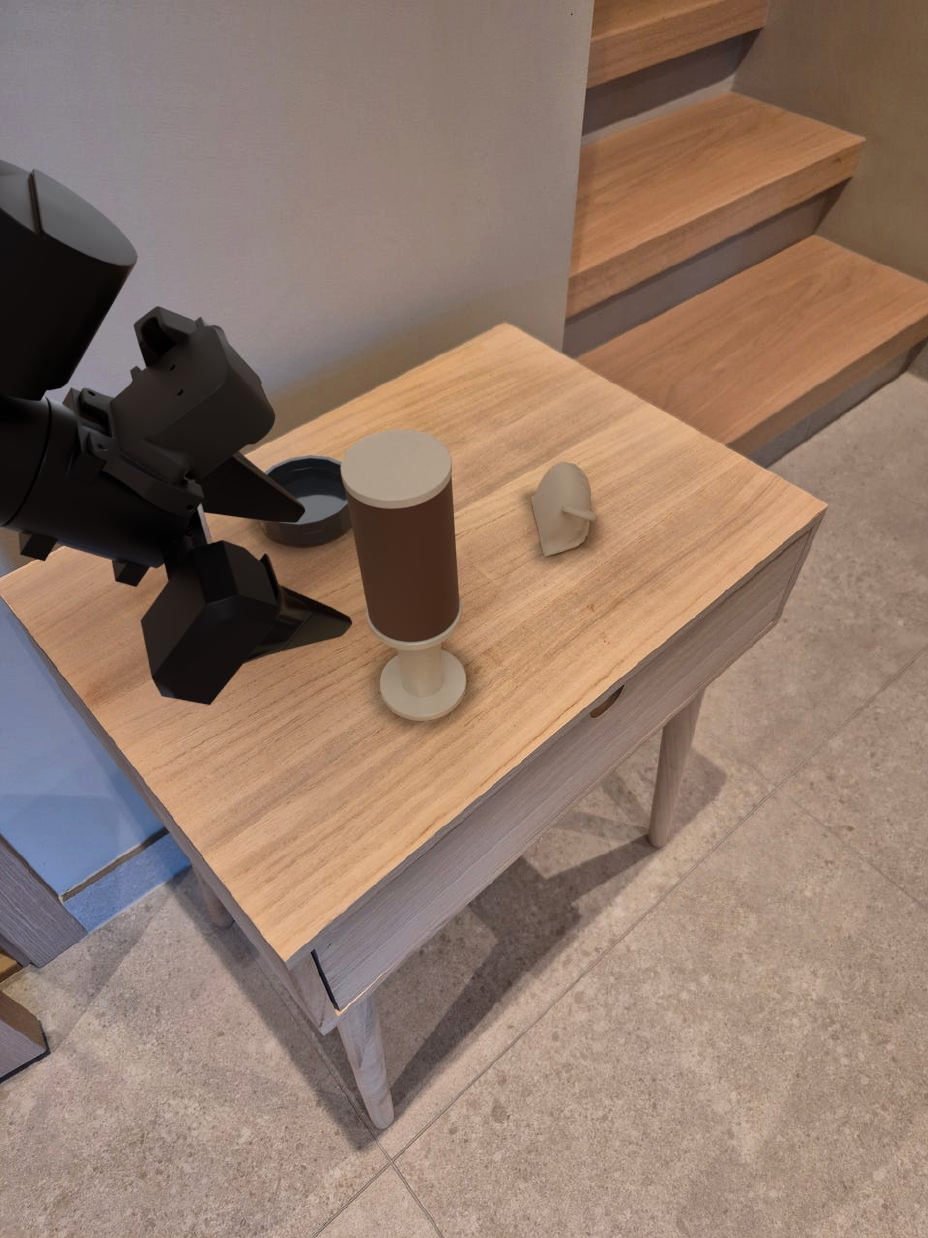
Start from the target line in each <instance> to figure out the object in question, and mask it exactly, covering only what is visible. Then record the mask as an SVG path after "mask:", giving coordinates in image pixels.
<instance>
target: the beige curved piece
mask: <svg viewBox="0 0 928 1238" xmlns="http://www.w3.org/2000/svg"><path fill="white" fill-rule="evenodd" d="M530 500H531V505H532V509H533V513H534V517H535V521H536V525H537V529H538V536H539V541H540V546H541V550H542V553H543V556H544V557H545V558H547V557H549V556H553V555H556V554H559V553H562V552H566V551H568V550H572V549H575V548H577V547H579V545H581V544H582V543H584V542H585V539H586V537H587V536H588V535H589V529H590V527H591V524H590V523H591V522H596V521H597V520H598V517H599V516H598V514H597V513H596V512H593V511H591V506H592V488H591V485H590V482H589V479H588V476H587V475H586V473H584V471H583V469H582V468H581V467H579V466H578V465H577V464H576V463H571V462H568V461H561V462H557V463H555V464H554V465H552V466H551V467H550V468H549V469H548V470H547V471H546V472H545V474H544V475H543V477H542V478H541V480H540V482H539V483H538V485H537V488H536V490H535V493H534V495H532V496H531V499H530Z"/></svg>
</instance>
